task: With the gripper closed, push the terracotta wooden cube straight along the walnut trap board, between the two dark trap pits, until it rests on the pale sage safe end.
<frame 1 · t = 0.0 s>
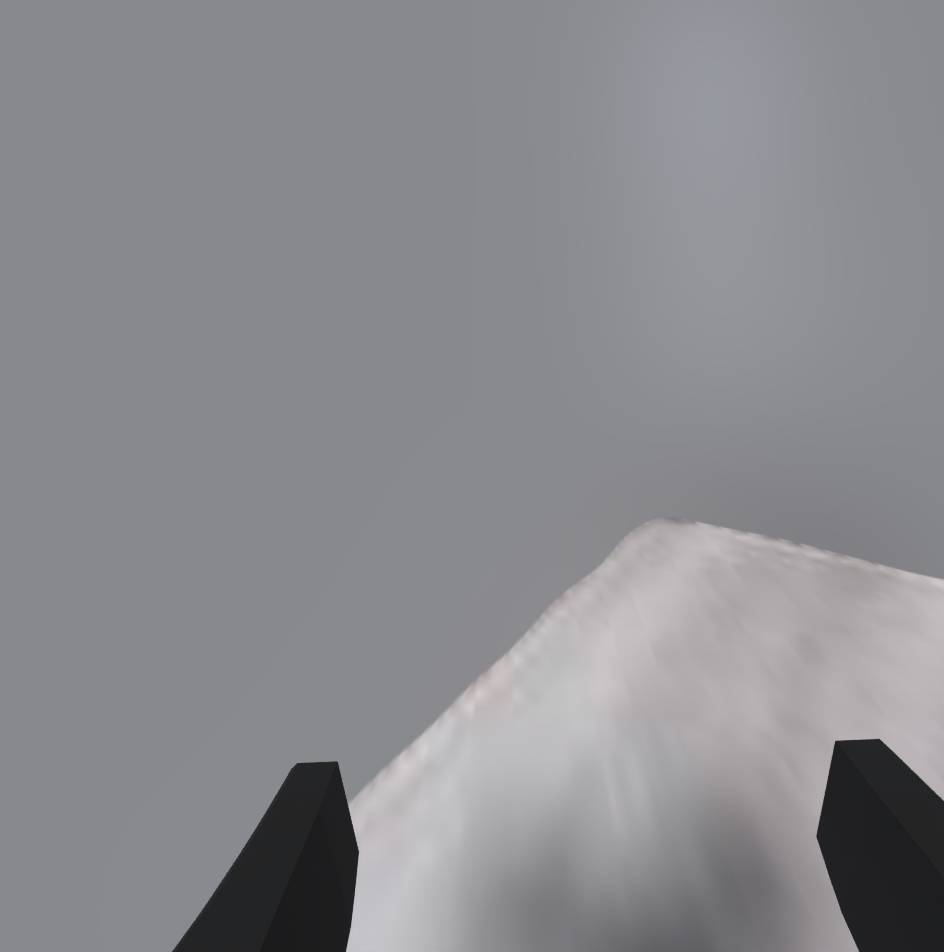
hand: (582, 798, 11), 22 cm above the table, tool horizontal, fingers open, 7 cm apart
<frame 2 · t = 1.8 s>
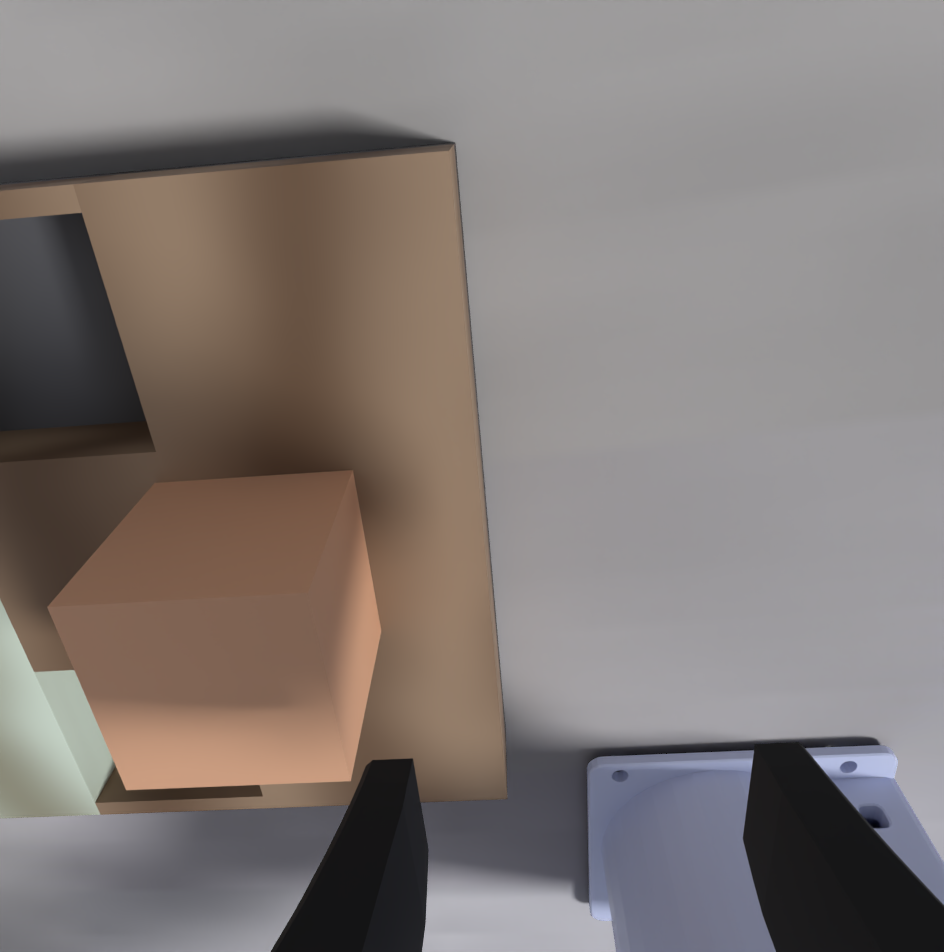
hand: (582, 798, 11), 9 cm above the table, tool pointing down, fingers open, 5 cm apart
trap board: (188, 514, 20), on the table
terracotta cube: (273, 560, 17), point 2 cm above the table, touching trap board
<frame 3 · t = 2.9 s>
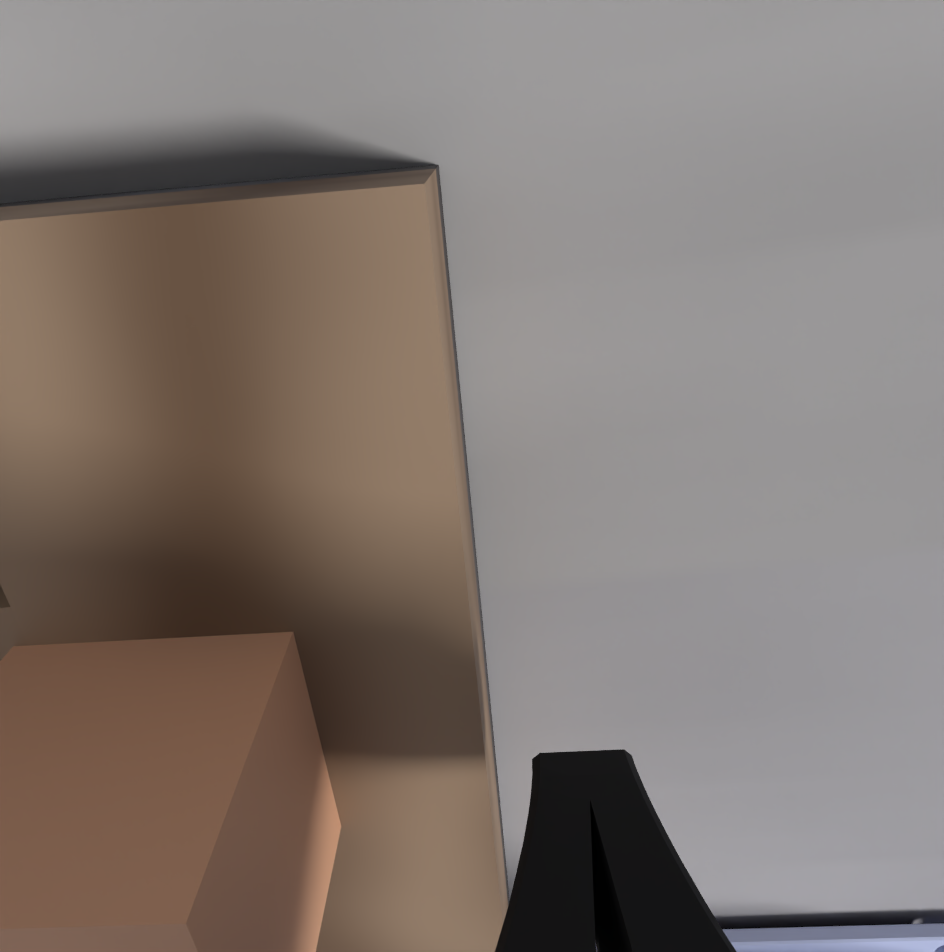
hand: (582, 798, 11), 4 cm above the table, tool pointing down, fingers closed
trap board: (89, 652, 15), on the table
terracotta cube: (188, 742, 12), point 2 cm above the table, touching trap board
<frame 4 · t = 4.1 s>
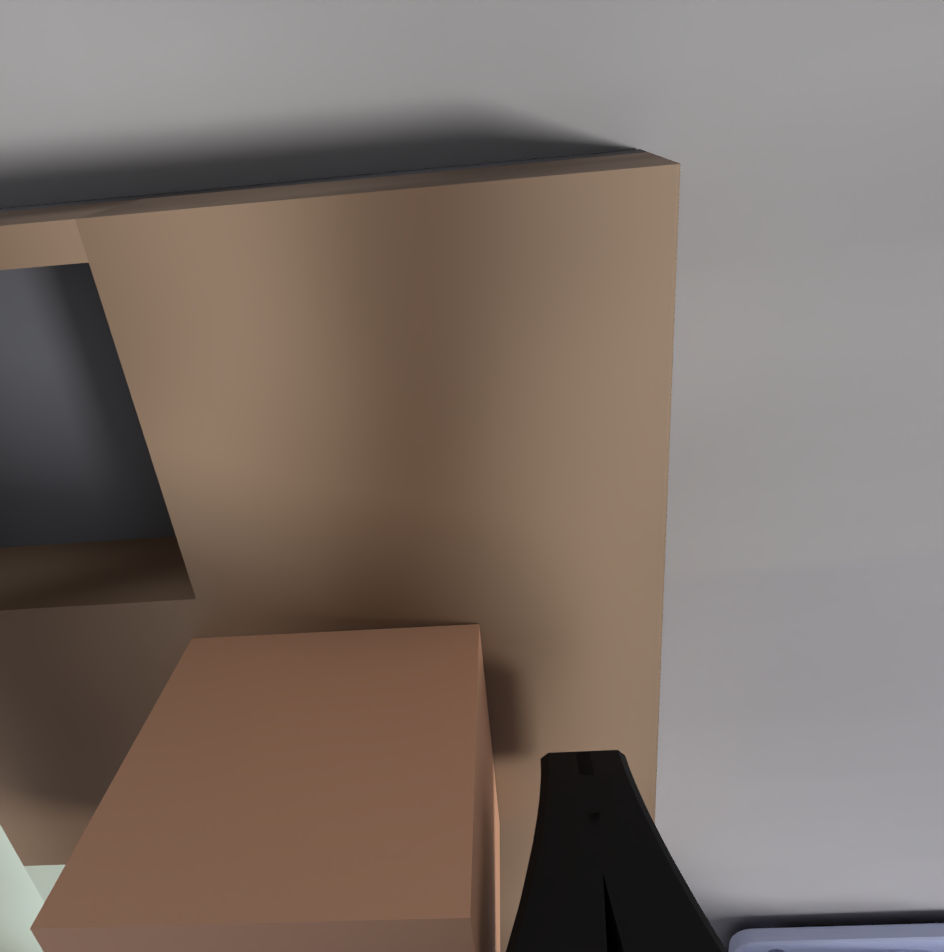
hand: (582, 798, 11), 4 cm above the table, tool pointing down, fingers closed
trap board: (230, 647, 15), on the table
terracotta cube: (356, 737, 12), point 3 cm above the table, touching gripper, trap board
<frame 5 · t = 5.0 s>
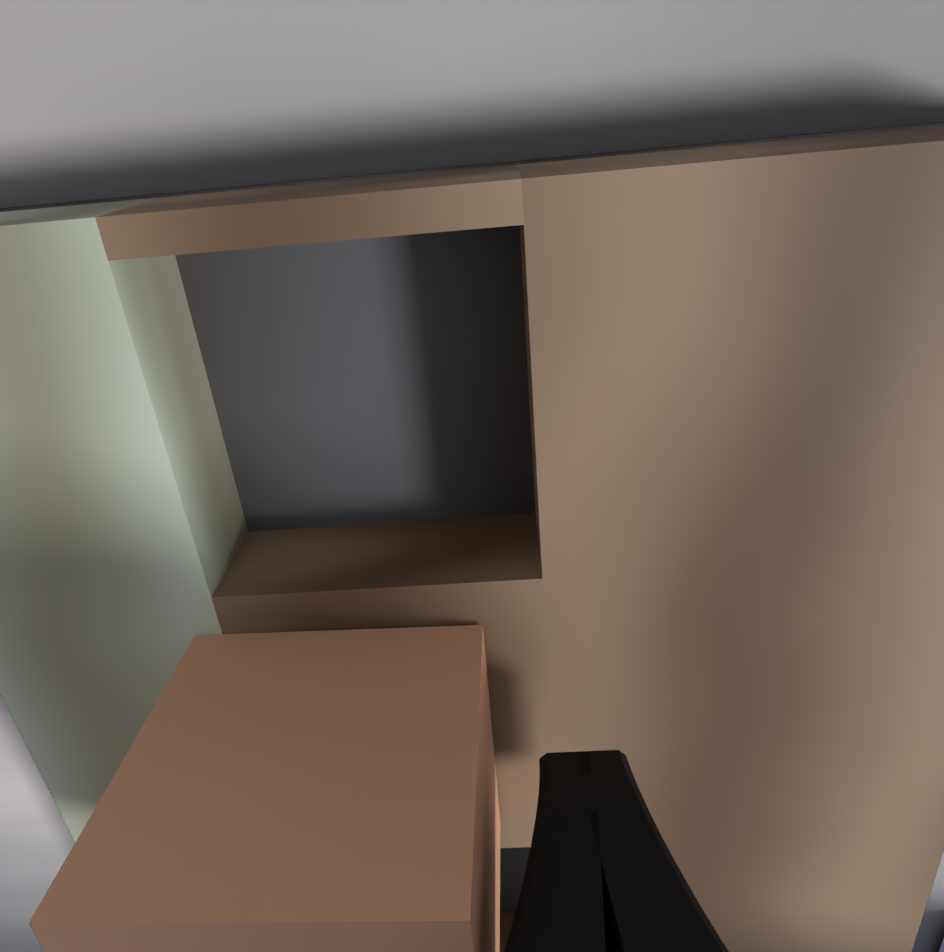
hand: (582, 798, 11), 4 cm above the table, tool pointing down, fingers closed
trap board: (490, 632, 14), on the table
terracotta cube: (358, 736, 12), point 3 cm above the table, touching gripper
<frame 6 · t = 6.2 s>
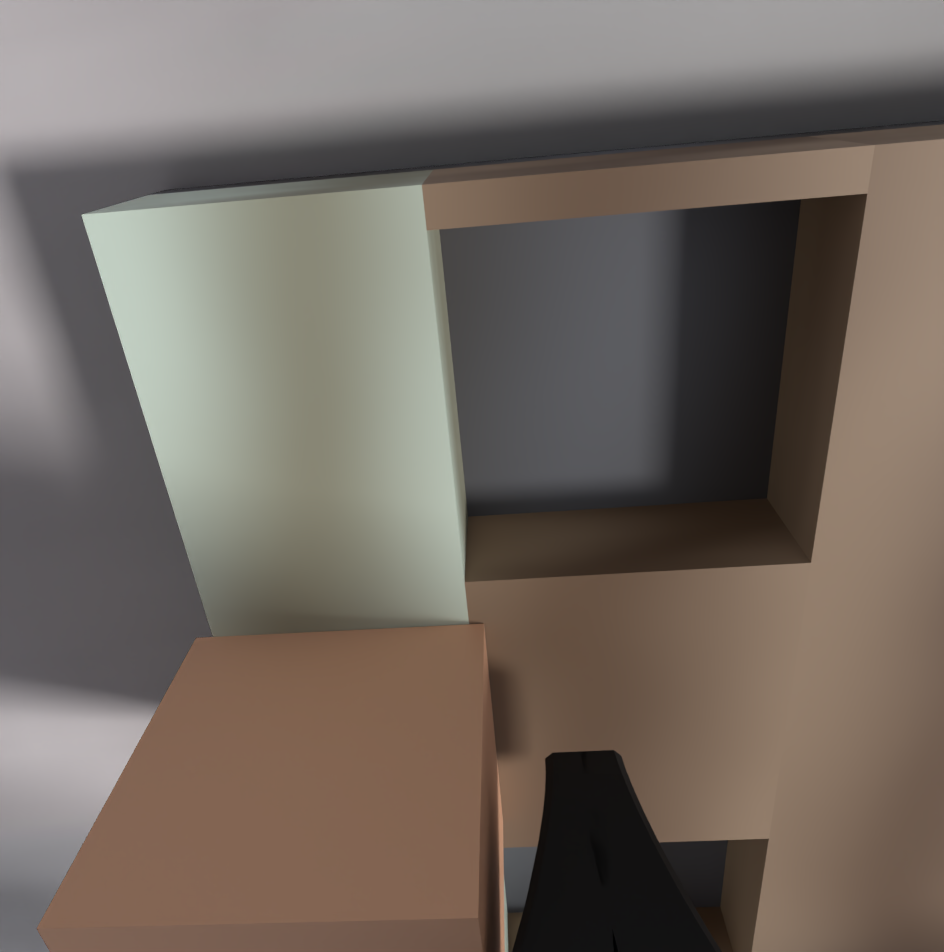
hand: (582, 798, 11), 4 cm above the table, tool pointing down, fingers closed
trap board: (688, 621, 14), on the table
terracotta cube: (360, 736, 12), point 3 cm above the table, touching gripper, trap board
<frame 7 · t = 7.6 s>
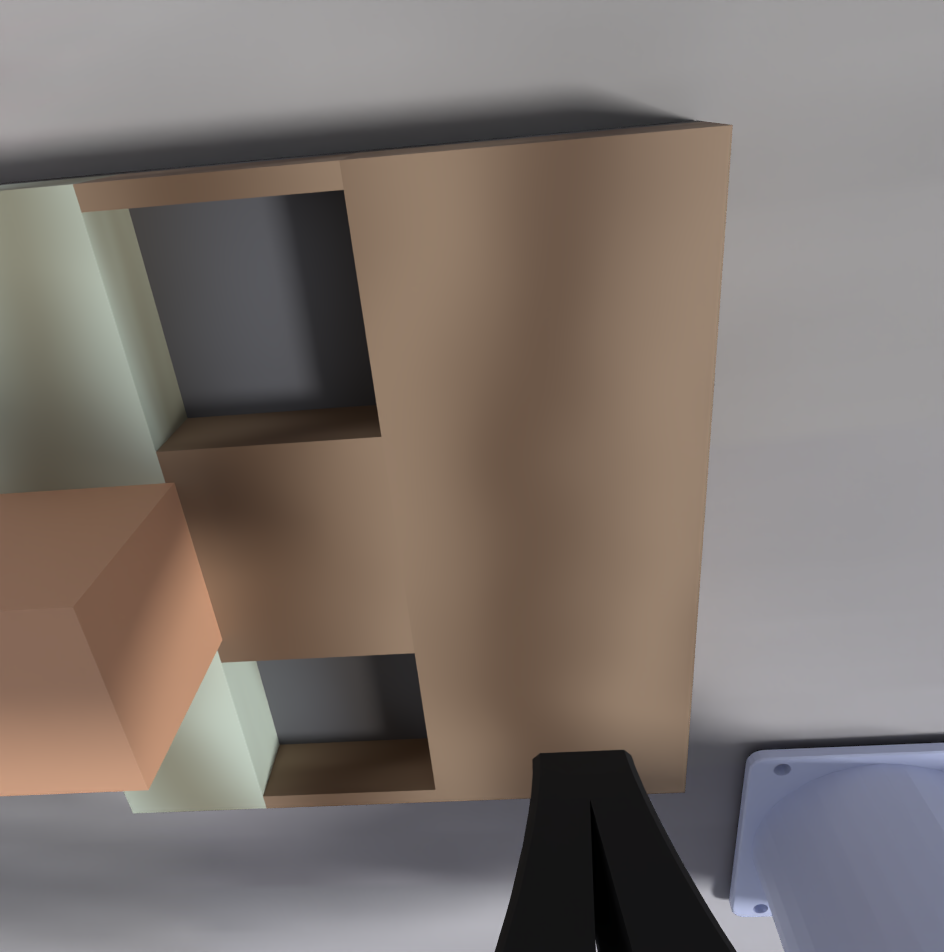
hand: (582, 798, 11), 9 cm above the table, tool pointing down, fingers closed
trap board: (372, 503, 19), on the table
terracotta cube: (108, 571, 18), point 2 cm above the table, touching trap board
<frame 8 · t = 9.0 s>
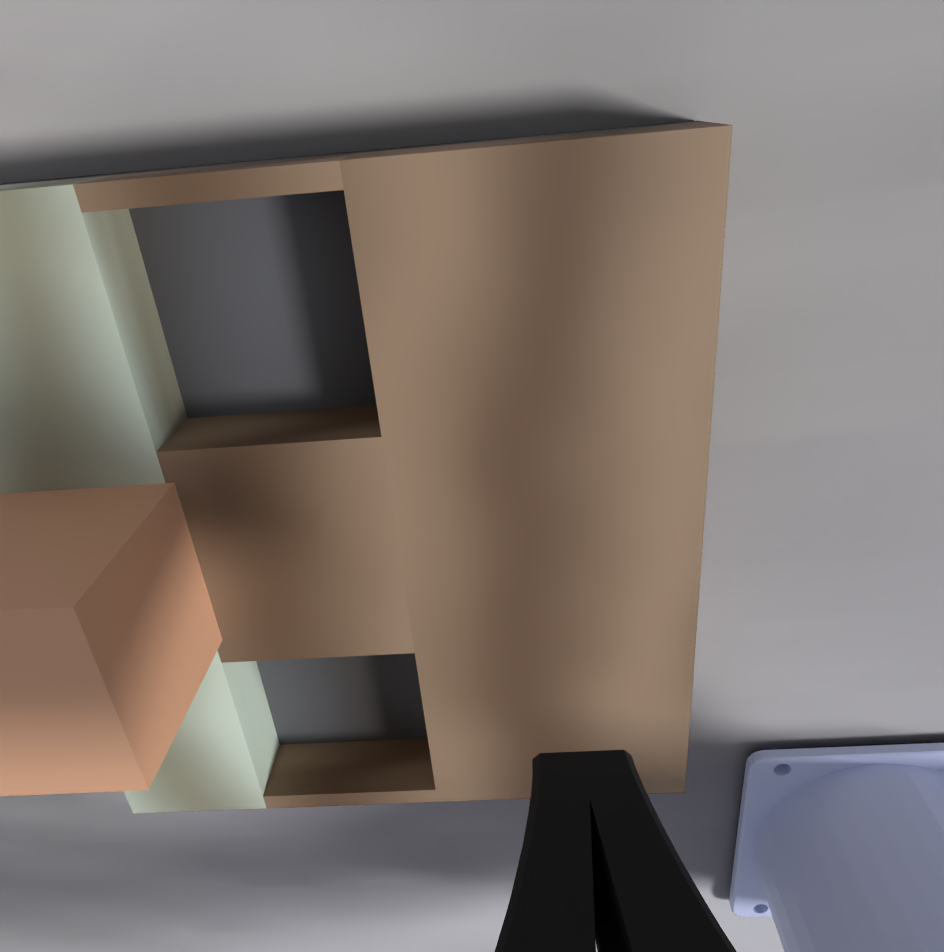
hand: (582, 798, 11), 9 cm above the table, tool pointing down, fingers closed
trap board: (372, 503, 19), on the table
terracotta cube: (108, 571, 18), point 2 cm above the table, touching trap board
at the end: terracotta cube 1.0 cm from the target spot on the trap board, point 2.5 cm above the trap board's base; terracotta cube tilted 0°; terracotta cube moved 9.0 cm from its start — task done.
